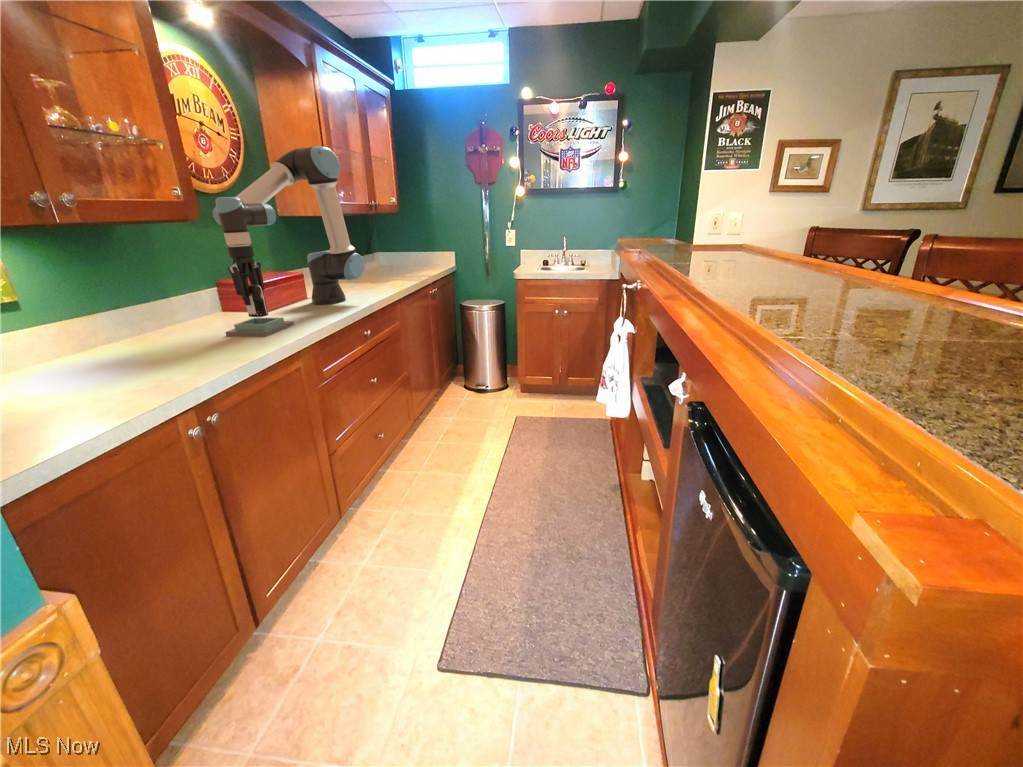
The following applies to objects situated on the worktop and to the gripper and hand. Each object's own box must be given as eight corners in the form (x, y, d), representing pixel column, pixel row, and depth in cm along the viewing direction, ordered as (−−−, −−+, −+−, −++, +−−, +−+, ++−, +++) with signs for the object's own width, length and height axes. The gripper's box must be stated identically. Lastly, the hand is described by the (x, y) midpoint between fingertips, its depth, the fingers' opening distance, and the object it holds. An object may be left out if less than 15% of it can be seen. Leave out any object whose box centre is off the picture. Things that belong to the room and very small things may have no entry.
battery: (245, 317, 159) (237, 286, 154) (253, 315, 162) (245, 284, 158) (262, 317, 157) (254, 286, 153) (269, 315, 161) (262, 284, 157)
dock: (257, 324, 170) (254, 315, 169) (294, 324, 168) (292, 315, 166) (226, 336, 156) (223, 326, 154) (266, 336, 153) (264, 326, 152)
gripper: (247, 243, 159) (263, 307, 168) (210, 248, 143) (230, 317, 152) (265, 243, 158) (280, 307, 166) (230, 247, 142) (249, 317, 151)
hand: (256, 312), depth 159 cm, fingers closed on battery, 4 cm apart
